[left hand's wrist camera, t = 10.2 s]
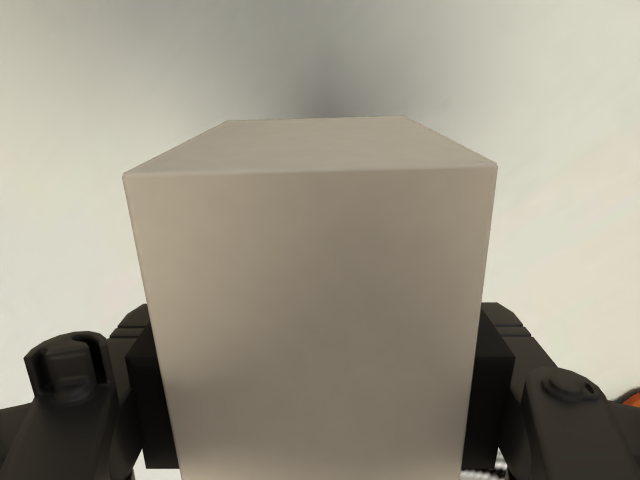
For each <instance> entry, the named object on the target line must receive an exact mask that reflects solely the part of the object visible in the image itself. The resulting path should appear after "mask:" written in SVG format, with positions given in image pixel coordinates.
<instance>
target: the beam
mask: <svg viewBox="0 0 640 480" xmlns="http://www.w3.org/2000/svg"><path fill="white" fill-rule="evenodd" d="M497 170H498V166H497V163H496V162H494V161H492V160H490V159H488V158H486V157H484V156H482V155H480V154H478V153H476V152H474V151H472V150H470V149H468V148H466V147H464V146H462V145H460V144H458V143H456V142H454V141H452V140H450V139H449V138H447V137H445V136H443V135H441V134H439V133H437V132H435V131H433V130H431V129H429V128H427V127H425V126H423V125H421V124H419V123H417V122H415V121H413V120H411V119H409V118H407V117H405V116H372V117H338V118H303V119H268V120H233V121H226V122H224V123H222V124H220V125H218V126H216V127H214V128H212V129H210V130H208V131H206V132H204V133H202V134H200V135H198V136H196V137H194V138H192V139H190V140H188V141H186V142H184V143H182V144H180V145H178V146H176V147H174V148H172V149H170V150H168V151H166V152H164V153H162V154H160V155H159V156H157V157H155V158H153V159H151V160H149V161H147V162H145V163H143V164H141V165H139V166H137V167H135V168H133V169H131V170H129V171H127V172H125V173H123V177H122V179H123V184H124V189H125V194H126V199H127V204H128V209H129V214H130V219H131V224H132V229H133V234H134V240H135V245H136V250H137V255H138V260H139V265H140V270H141V275H142V280H143V285H144V290H145V295H146V300H147V306H148V311H149V316H150V321H151V326H152V331H153V336H154V341H155V346H156V351H157V356H158V361H159V366H160V371H161V377H162V382H163V387H164V392H165V397H166V402H167V407H168V412H169V417H170V422H171V427H172V432H173V437H174V443H175V448H176V453H177V458H178V463H179V468H180V473H181V478H182V480H460V473H461V464H462V456H463V448H464V440H465V432H466V423H467V415H468V407H469V399H470V391H471V383H472V374H473V366H474V358H475V350H476V342H477V334H478V325H479V317H480V309H481V301H482V293H483V284H484V276H485V268H486V260H487V252H488V244H489V235H490V227H491V219H492V211H493V203H494V194H495V186H496V178H497Z"/></svg>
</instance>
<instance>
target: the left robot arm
mask: <svg viewBox="0 0 640 480" xmlns="http://www.w3.org/2000/svg"><path fill="white" fill-rule="evenodd" d="M24 362H25V365H26V368H27V372H28V375H29V379H30V382H31V386H32V389H33V392H34V396H35V397H34V399H33V401H32V402H31V403H28V404H24V405H19V406H14V407H10V408H5V409H0V480H135V475H134V470H133V466H134V464H135V462H136V460H137V458H138V456H139V454H140V452H141V450H143V455H144V460H145V465H146V469H180V468H179V463H178V458H177V453H176V448H175V443H174V437H173V432H172V427H171V422H170V417H169V412H168V407H167V402H166V397H165V392H164V387H163V382H162V377H161V371H160V366H159V361H158V356H157V351H156V346H155V341H154V336H153V331H152V326H151V321H150V316H149V311H148V306H147V304H142V305H141V306H139V307H138V308H136V309H135V310H133V311H131V312H130V313H128V314H127V315H126V316H125V318H124V319H123V320H122V321H121V323H120V324H119V325H118V328H116V329H115V330H114V331H113V332H112V334H111V335H110V338H109V339H107V340H106V338H105V337H104V336H102V335H101V334H100V333H96V332H91V331H80V332H71V333H67V334H63V335H59V336H56V337H54V338H51V339H49V340H46V341H44V342H42V343H41V344H39V345H37V346H36V347H34V348H33V349H31V350H30V351H29V353H28V354H27V355H26V356H25V357H24ZM498 447H499V449H500V451H501V453H502V455H503V457H504V459H505V461H506V463H507V470H506V475H505V480H640V407H635V406H630V405H625V404H621V403H616V402H612V401H609V400H607V398H606V396H605V395H604V394H603V392H602V391H601V390H600V388H599V387H598V386H597V385H595V384H594V383H593V382H591V381H590V380H589V379H587V378H586V377H583V376H581V375H579V374H577V373H575V372H573V371H570V370H566V369H562V368H558V367H557V366H556V364H555V363H554V362H553V361H552V359H551V358H550V357H549V356H548V355H547V353H546V352H545V351H544V350H543V348H542V347H541V346H540V345H539V344H538V342H537V341H536V340H535V339H534V337H531V334H530V332H529V331H528V330H527V329H526V328H525V327H523V324H522V323H521V321H520V320H519V319H518V318H517V317H516V315H515V314H514V313H513V312H511V311H510V310H508V309H507V308H505V307H504V306H502V305H500V304H499V303H481V309H480V317H479V325H478V334H477V342H476V350H475V358H474V366H473V374H472V383H471V391H470V399H469V407H468V415H467V423H466V432H465V440H464V448H463V456H462V464H461V469H494V467H495V462H496V457H497V451H498Z"/></svg>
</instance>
